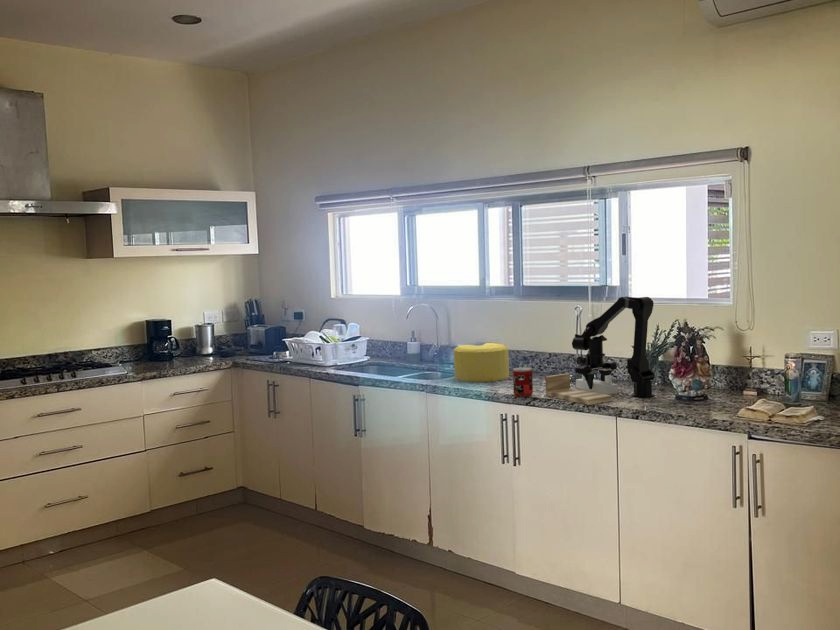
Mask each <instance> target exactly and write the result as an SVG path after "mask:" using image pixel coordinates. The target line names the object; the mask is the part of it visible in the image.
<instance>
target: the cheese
mask: <svg viewBox="0 0 840 630" xmlns="http://www.w3.org/2000/svg"><path fill="white" fill-rule="evenodd" d="M509 358H510V357H509V347H508V346H507V345H505V344H502V343H492V342H489V343H488V342H486V343H484V344H481V345H477V344H476V345H475V344H461V345H459V346H456V347H455V348H454V349H453V361H454V362H453V365H454V367H453V369H454V379H455V380H457V381H461V382H475V383H476V382H496V381H501V380H506V379H508V378H509V377H510V363H509V362H510V361H509V360H510V359H509Z"/></svg>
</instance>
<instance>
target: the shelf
mask: <svg viewBox="0 0 840 630" xmlns="http://www.w3.org/2000/svg"><path fill="white" fill-rule="evenodd" d="M549 396H551V397H550V398H554V397H556V398H555V399H558V398H561V399H560V400H563V399H565V400H564V401H569V402H573V403H577V404H578V403H579V404H582V405H588V406H591V405H597V403H598V404H601V402H603V403H607V402H612V401H613V395H612V394H609V395H605V394H600V393H596V392H592V391H587V390H583V389H578V388H573V387H571V374H570V373H568V372H567V373H561V374H560V373H559V374H554V375H548V376H545V397H549Z"/></svg>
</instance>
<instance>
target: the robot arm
mask: <svg viewBox="0 0 840 630" xmlns="http://www.w3.org/2000/svg"><path fill="white" fill-rule="evenodd" d="M654 306H655V305H654V301H653V299H652V298H651V297H649V296H643V297H634V296H633V297H632V296H628V295H626V296H619V297H618V299H617V300H616V301H615V302H614V303H613V304H611V306H609V308H607V310H605V311H604V312H603V313H602V314H601V315H600V316H599V317H596V318H594V319H592V320H591V321H589V322H587V324H586V325H585V329H584V330H583V331H582V333H575V334H574V337H573V339H572V341H571V346H572V349H573V350H577V351H579V350H580V351H588V352H587V353H586V355H585V356H586V357H583V356H577V357H576V367H575V369H574V372H575V374H580V375H581V376H582V375H583V376H584V377H585V379H586V381H587V384H588V387H589V389H592V386H593V379H594V380H595V373H593V371H599V374H600V381H604V382H605V376H606V375H610V376H611V373H613V372H614V370H618V364H617V363H616V362H615V361H608V360H607V361H604V357H605V356H606V353H604V349H603V348H604V347H603V346H604V343H603V342H605V341H608V338H606V337H605V335H604V333H605V331H606V330H607V329H608V327H609V324H610V323H611V322H612V321H613V320H614V319H615V318H617V317H618V316H619V314H621V313H622V312H623V311H624V310H625V309H631V312H632V315H633V317H634V335H633V350H632V355H631V357H629V358H627V360H626V362H627V364H626V368H625V369H627V374H629V377H630V379H631V382H632V383H633V394H631V396H632V397H635V398H640V399H646V398H647V399H648V398H652V397H655V394H653V393H652V391H653V389H652V388H653V387H652V381H655V377H656V375H655V374H654V372H653V371H652V370H651V369H650V364H649V360H648V357H647V355H646V353H647V339H648V338H647V337H648V325H649V324H648V323H649V319H650V317H651V315H652V312H653V309H654ZM602 334H603V335H602Z"/></svg>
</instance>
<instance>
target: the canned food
mask: <svg viewBox="0 0 840 630" xmlns="http://www.w3.org/2000/svg"><path fill="white" fill-rule="evenodd" d="M512 383H513V384H512V385H513V386H512V387H513V394H514V396H515V397H530V396H533V392H534V390H533V389H534V388H533V387H534V385H533V384H534V383H533V368H532V367H525V366H523V367H514V368H512Z"/></svg>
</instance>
